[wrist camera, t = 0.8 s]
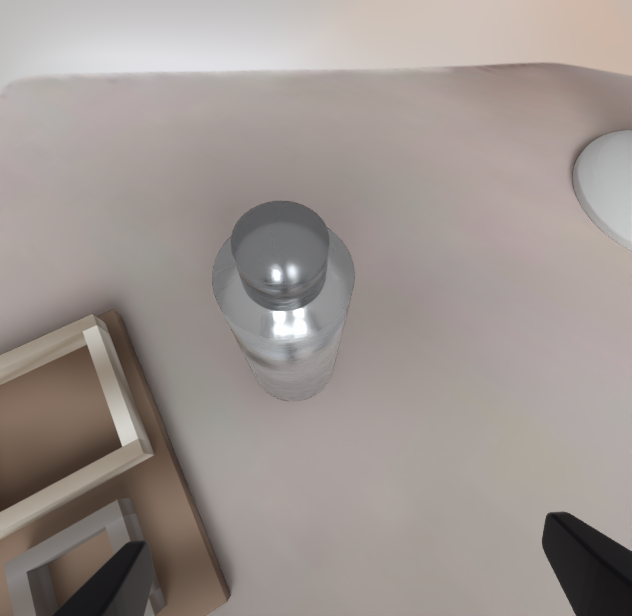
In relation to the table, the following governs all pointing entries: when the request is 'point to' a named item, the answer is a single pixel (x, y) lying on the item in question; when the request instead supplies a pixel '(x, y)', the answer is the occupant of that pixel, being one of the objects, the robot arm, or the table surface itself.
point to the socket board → (92, 476)
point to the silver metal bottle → (285, 296)
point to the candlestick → (607, 184)
